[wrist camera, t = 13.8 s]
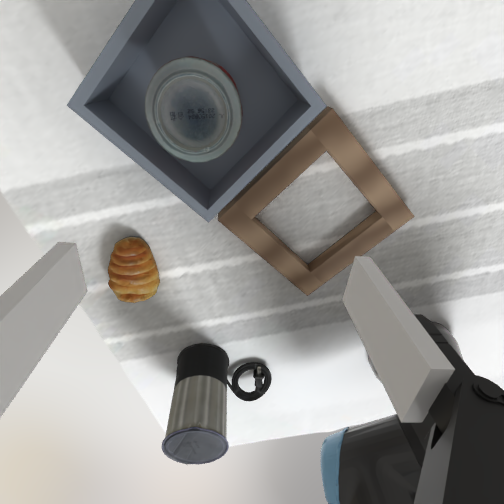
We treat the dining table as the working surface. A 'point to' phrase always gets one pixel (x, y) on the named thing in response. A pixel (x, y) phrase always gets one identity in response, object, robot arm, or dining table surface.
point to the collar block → (285, 172)
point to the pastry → (133, 270)
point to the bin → (213, 49)
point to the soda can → (193, 109)
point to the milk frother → (205, 403)
